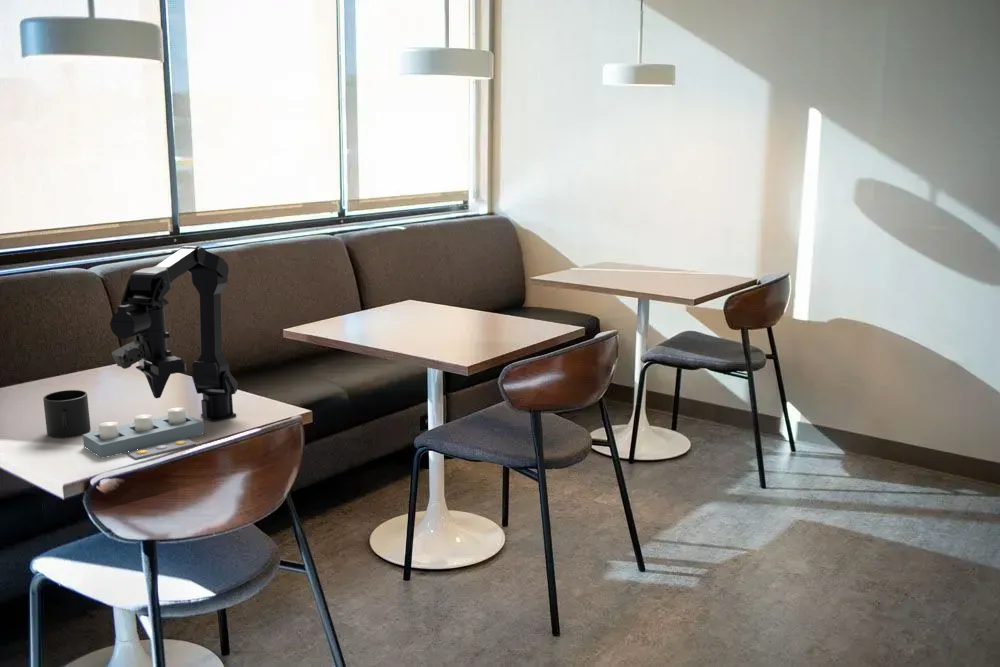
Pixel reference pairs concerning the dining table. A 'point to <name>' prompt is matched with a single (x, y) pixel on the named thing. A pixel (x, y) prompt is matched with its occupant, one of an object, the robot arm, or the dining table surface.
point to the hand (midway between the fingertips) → (157, 397)
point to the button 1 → (108, 430)
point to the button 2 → (176, 415)
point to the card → (160, 448)
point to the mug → (66, 413)
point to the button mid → (143, 423)
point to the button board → (143, 436)
